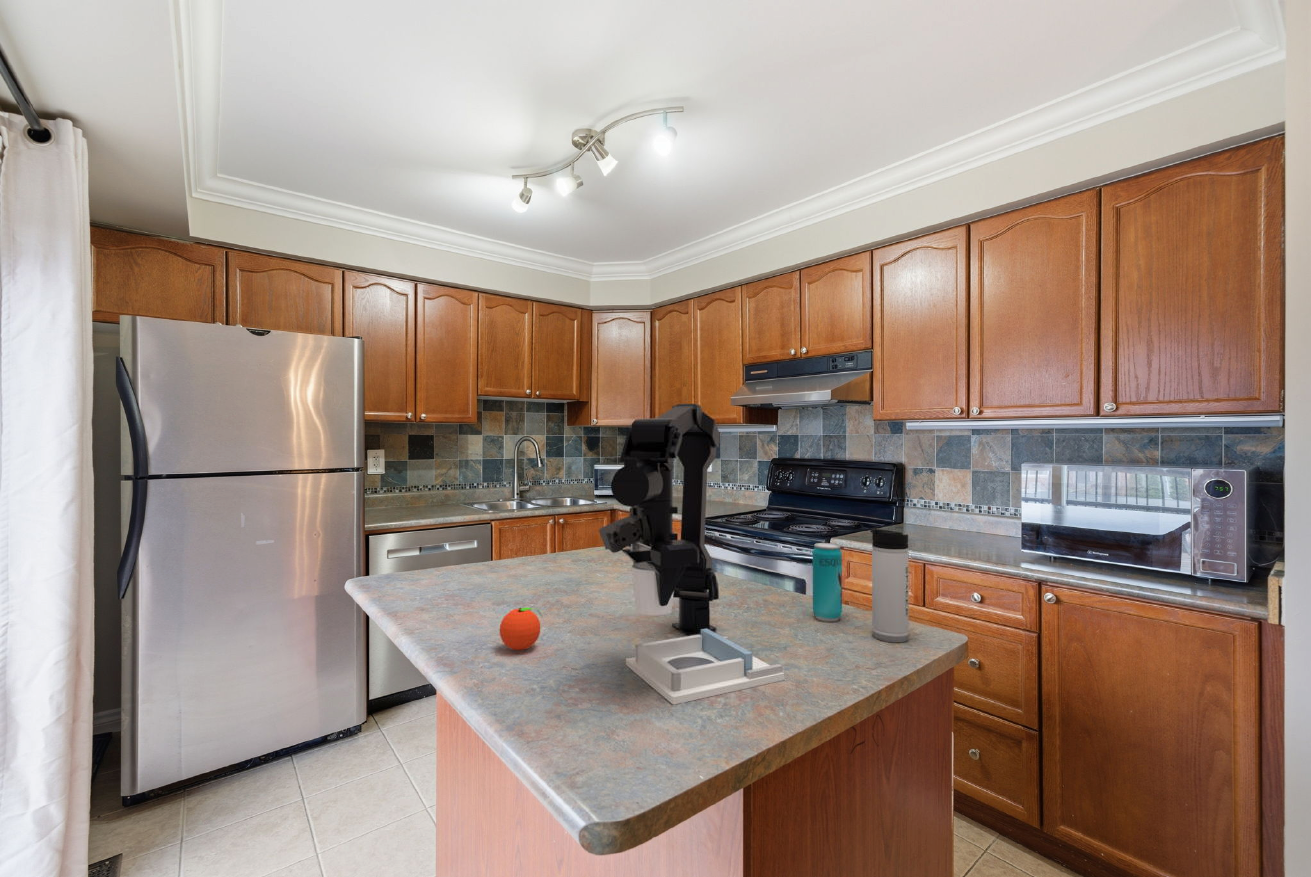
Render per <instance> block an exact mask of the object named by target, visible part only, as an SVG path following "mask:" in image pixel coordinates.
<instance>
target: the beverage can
mask: <svg viewBox="0 0 1311 877" xmlns="http://www.w3.org/2000/svg"><path fill="white" fill-rule="evenodd" d="M813 547H814V548H813V550H812V612H813V614H814V617H815V618H816V620H817V621H821V622H826V623H827V622H828V623H830V622H831V623H834V622H837V621H839V620H840V619H841V615H842V613H843V553H842V551H841V550H842V549H841V545H840V544H837V543H832V542H831V543H830V542H829V543H828V542H819V543H818V542H817V543H815V544H814V545H813Z"/></svg>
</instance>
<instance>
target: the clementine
mask: <svg viewBox="0 0 1311 877" xmlns="http://www.w3.org/2000/svg"><path fill="white" fill-rule="evenodd" d="M532 610H536V611H537V612H538V614H539V615H540V616H541V617H543V615H542V613H541V612H540V611H539V610H538V609H537V608H532V607H522V608H521V607H519V608H514V609H512V610H510V611H509V612H508V613H506V614H505V616H504V617H503V618H502V620H501V622H500V625H499V636H500V639H501V641H502V643H503V644H504V645H505V646H506V647H507V648H509V649H510V650H514V651H523V650H525V649H526V650H527V649H529V648H530V647H532V646H533V645H534V644H535V643H536V642H537V641H538V640H539V639H538V638H539V636H540V635H541V623H540V622H541V621H540V619H539V617H538V616H537V615H536V613H535V612H534V611H532Z"/></svg>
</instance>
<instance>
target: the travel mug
mask: <svg viewBox="0 0 1311 877" xmlns="http://www.w3.org/2000/svg"><path fill="white" fill-rule="evenodd" d="M870 533H872V537H871V539H872V540H871V541H872V542H871V543H872V544H871V548H872V550H871V579H872V581H871V590H872V591H871V595H872V596H871V603H872V604H871V608H872V610H871V611H872V612H871V618H872V622H871V623H872V624H871V626H872V628H871V631H872V637H874V638H875V639H877V640H879V641H881V642H887V643H893V644H894V643H895V644H897V643H899V644H900V643H905V642H907V641H908V640H909V639H910V632H909V629H910V626H909V625H910V616H909V614H910V610H909V609H910V607H909V606H910V605H909V604H910V601H909V600H910V599H909V598H910V596H909V592H910V591H909V590H910V588H909V587H910V585H909V581H910V579H909V571H910V570H909V557H910V556H909V535H908V534H903V533H902V532H899V531H894V530H887V529H878V528H875V527H872V528H870Z"/></svg>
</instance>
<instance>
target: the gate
mask: <svg viewBox="0 0 1311 877" xmlns="http://www.w3.org/2000/svg"><path fill="white" fill-rule="evenodd" d="M700 635H701V636H702V650H704V651H706V652H707V653H709V654H711V655H712V656H714V657H715V658H717V659H719V660H720V661H727V660H732V659H737V658H741V659H743V660H744V675H745V676H746V671H747V670H752V669H753V656H754V655H753V652H752V651H750V650H747V649H746V648H745V647H742V646H741V645H739V644H737V643H735V642H733V641H731V640H730V639H729V640H727V639H725V638H724V637H725V636H722V635H720V634H718V633H716V632H715V631H711V630H709V629H701V633H700Z"/></svg>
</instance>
